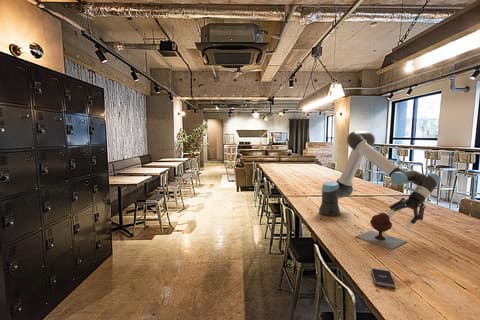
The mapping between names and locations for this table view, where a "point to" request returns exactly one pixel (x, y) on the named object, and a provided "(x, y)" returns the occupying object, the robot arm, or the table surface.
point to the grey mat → (388, 243)
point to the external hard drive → (383, 278)
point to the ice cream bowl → (381, 224)
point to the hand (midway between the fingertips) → (396, 222)
